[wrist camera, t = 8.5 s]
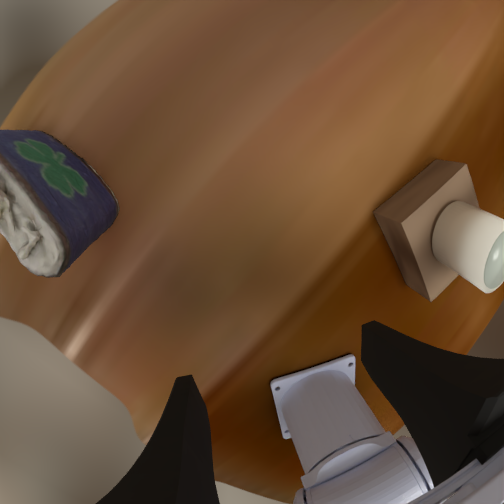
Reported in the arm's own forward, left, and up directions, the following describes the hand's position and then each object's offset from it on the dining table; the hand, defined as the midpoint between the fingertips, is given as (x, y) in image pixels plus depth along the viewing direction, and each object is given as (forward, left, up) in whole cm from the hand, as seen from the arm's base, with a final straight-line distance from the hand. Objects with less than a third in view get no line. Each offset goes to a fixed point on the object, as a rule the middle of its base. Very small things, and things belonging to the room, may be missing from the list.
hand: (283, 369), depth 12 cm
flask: (+10, +10, -11) cm, 18 cm away
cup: (0, -16, -7) cm, 17 cm away
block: (0, -16, -11) cm, 19 cm away
